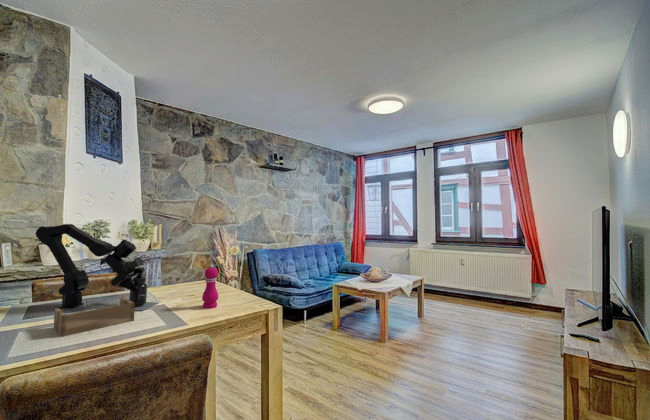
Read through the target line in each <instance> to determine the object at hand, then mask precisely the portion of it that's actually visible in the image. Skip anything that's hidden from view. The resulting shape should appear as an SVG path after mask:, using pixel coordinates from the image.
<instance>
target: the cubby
mask: <svg viewBox="0 0 650 420" xmlns="http://www.w3.org/2000/svg"><path fill="white" fill-rule="evenodd" d="M119 303H120V304H118V305H113V306H108V307H102V308H96V309H91V310H85V311H81V312H80V311H79V312H72V313H69V314H66V313H65V312H64V311H63V310H62V309H60V308H59V307H58V308H54V316H53V317H54V318H53V329H54V330H55V331H56V332H57V333H58V334H59V336H61V337H66V336H72V335H75V334H79V333H85V332H90V331H94V330H98V329H102V328H107V327H112V326H116V325H120V324H125V322H126V323H130V322H133V321H135V311H134V310H135V303H133V302H131V301H130V300H129V299H127V298H125V297H120V301H119Z"/></svg>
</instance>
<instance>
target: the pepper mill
mask: <svg viewBox="0 0 650 420" xmlns="http://www.w3.org/2000/svg"><path fill="white" fill-rule="evenodd" d="M214 266H215V265H214V264H213V263H212V264H209V267H208V268H206V270H205V271H204V276H205V283H206V285H205V290H204V292H203V293H202V296H201V298H202V299H201V300H202V302H203V303H202V308H203V309H216V308H217V307H218V302H217V301H218V299H219V293H218V290H217V287H216V282H217V277H218V275H219V271H218V269H217V268H216V267H214Z"/></svg>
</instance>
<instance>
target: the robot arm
mask: <svg viewBox="0 0 650 420" xmlns="http://www.w3.org/2000/svg"><path fill="white" fill-rule="evenodd" d="M34 234H35V236H36V238H37V239H38V240H39V241H40V242H41V243H42V244H44V245H46V246H47V247H48V248H49V250H50V252H51V254H52V256H53V257H54V259H55V260H56V263H57V264H58V267H60V269H61V272H62V273H63V284H64V285H63V286H61V287H60V288H59V289H58V290H57V291H58V294H59V295H62V297H61V305H59V306H58V308H59V309H60V308H62V309H74V308H76V307H79V306H82V305H84V304H85V303H84V302H83V295H82V291H85V289H86V287H88V284H89V282H90V281H89V278H90V276H88V275H87V273H86V270H84V269H83V270H79V269H78V267H77V266H76V265H75V263H74V261H73V259H72V257H71V256H70V254H69V252H68V250H67V248H66V246H64V244H63V235H68V236H69V237H70V238H71V239H74V240H75V241H78V242H79V243H80V244H82V245H84V246H86V248H88V250H89V252H90V253H92V255H94V256H96V257H103V258H100V262H99V265H100V266H101V265H107V266H108V267H109V268H110V269H111V273H112V274H114V273H115V274H116V276H114V277H113V278H112V279H111V280H110V285H111V286H112V287H118V288H119V287H121V288H123V289H127V290H129V291H130V290H132V291H135V292H137V291H138V289H137V287H136V286H135V285H134V283H133V278H136V277H143V275H144V272H145V271H146V269H145V268H144V267H143V266H144V259H142V258H141V257H137V258H134V260H132V261H125V260H124V259H126V258H128V257H129V256H130V255H131V254H133V252H135V250H137V247H136V245H135V244H134V243H132V242H131V241H128V240H127V239H122V240H121V241H120V243H118V244H117V245H113V244H112V243H110V242H107V241H106V240H102V239H97V238H96V237H94V236H92V235H90V234H88V233H87V232H85V231H84V230H82V229H80V228H79V227H77V226H75V225H74V224H72V223H64V224H60V225H55V226H54V225H53V226H51V225H50V226H49V225H48V226H39V227H38V228H37V229H36V232H35V233H34ZM104 256H105V257H104ZM123 258H124V259H123Z"/></svg>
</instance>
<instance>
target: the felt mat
mask: <svg viewBox="0 0 650 420" xmlns="http://www.w3.org/2000/svg"><path fill="white" fill-rule="evenodd" d="M158 304H159V302H156V301H155V302H154V301H151V302H149V301H146V303H145V304H143V305H138V306H135V310H134V312H144V311H146V310H148V309H150V308H152V307H154V306H156V305H158Z"/></svg>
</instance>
